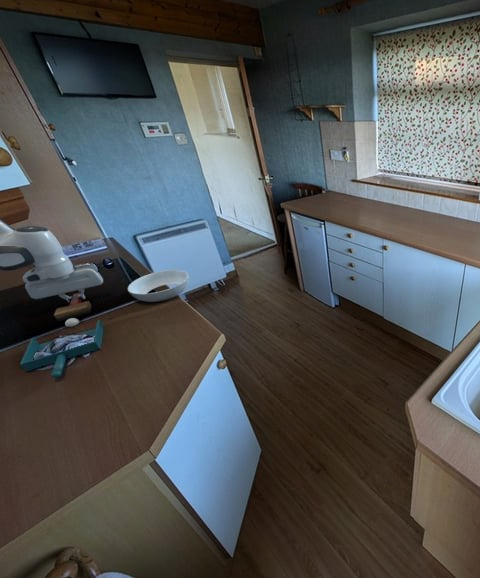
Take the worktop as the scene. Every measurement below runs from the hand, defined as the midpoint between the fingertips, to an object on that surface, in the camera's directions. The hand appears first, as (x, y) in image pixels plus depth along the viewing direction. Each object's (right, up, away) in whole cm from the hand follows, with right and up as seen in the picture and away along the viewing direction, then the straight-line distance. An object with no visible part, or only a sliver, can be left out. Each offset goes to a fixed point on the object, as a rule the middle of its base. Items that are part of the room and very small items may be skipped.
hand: (77, 300), depth 116 cm
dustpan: (+20, -17, -23) cm, 35 cm away
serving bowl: (+28, +2, +9) cm, 30 cm away
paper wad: (+10, -9, -10) cm, 17 cm away
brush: (+2, -4, -2) cm, 5 cm away
